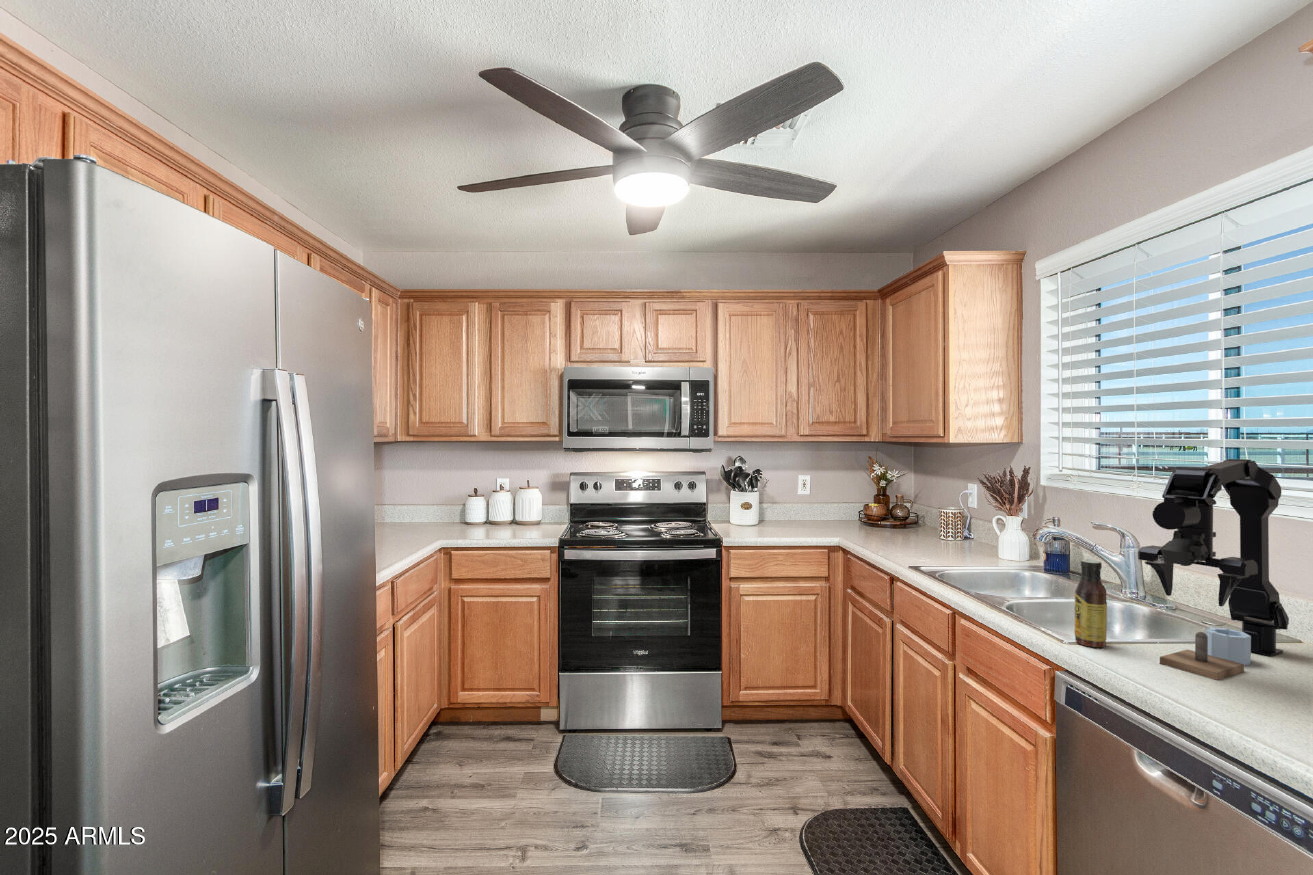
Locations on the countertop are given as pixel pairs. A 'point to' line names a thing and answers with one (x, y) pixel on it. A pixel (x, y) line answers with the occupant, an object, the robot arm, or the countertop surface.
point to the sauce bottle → (1090, 606)
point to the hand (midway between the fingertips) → (1194, 600)
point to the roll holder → (1202, 661)
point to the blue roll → (1229, 645)
